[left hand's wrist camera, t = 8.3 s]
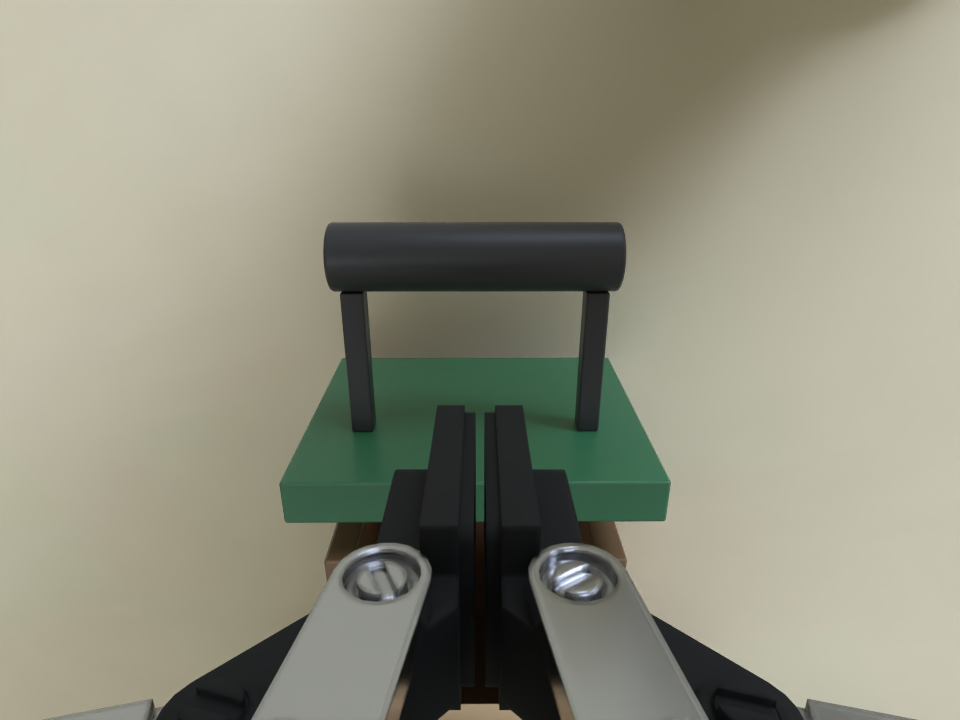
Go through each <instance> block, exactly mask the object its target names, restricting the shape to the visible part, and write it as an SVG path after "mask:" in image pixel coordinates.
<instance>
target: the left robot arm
mask: <svg viewBox="0 0 960 720" xmlns="http://www.w3.org/2000/svg"><path fill="white" fill-rule="evenodd" d="M475 587H476V412H465V405H437V410H436V417H435V424H434V430H433V437H432V444H431V450H430V457H429V463H428V469H396V470H395V472H394V475H393V479H392V483H391V487H390V491H389V495H388V499H387V503H386V507H385V511H384V515H383V519H382V523H381V528H380V532H379V536H378V540H377V544H373V545H368V546H365V547H363V548H360V549H358V550H355V551H353V552H352V553H350V554H349V555H347V556H346V557H345V558H343V559H342V560H341V561H340V562H339V564H338V565H337V566H336V567H335V569H334V571H333V572H332V574H331V576H330V578H329V580H328V581H327V583H326V585H325V587H324V589H323V590H322V592H321V594H320V596H319V598H318V599H317V601H316V603H315V605H314V607H313V609H312V610H311V612H310V614H308V615H306V616H305V617H303V618H301V619H300V620H298V621H296V622H294V623H293V624H291V625H289V626H288V627H286V628H284V629H282V630H281V631H279V632H277V633H276V634H274V635H272V636H270V637H269V638H267V639H265V640H264V641H262V642H260V643H258V644H257V645H255V646H253V647H252V648H250V649H248V650H246V651H245V652H243V653H241V654H240V655H238V656H236V657H234V658H233V659H231V660H229V661H228V662H226V663H224V664H223V665H221V666H219V667H217V668H216V669H214V670H212V671H211V672H209V673H207V674H205V675H204V676H202V677H200V678H199V679H197V680H195V681H193V682H192V683H190V684H189V685H188V686H186V687H185V688H183V689H182V690H181V691H179V692H178V693H176V694H175V695H174V696H173V697H172V698H171V699H170V701H169V702H168V703H167V704H166V705H165V706H164V707H160V708H155V707H154V703H153V699H149V700H144V701H139V702H134V703H128V704H123V705H118V706H113V707H107V708H102V709H97V710H92V711H86V712H81V713H76V714H71V715H66V716H60V717H55V718H50V719H45V720H438V719H439V718H441V717H442V716H443V715H444V714H445V713H447V712H448V711H449V710H461V687H474V686H475ZM484 587H485V686H486V687H499V710H511V711H512V712H513V713H515V714H516V715H517V716H518V717H519V718H521V719H522V720H915V719H910V718H905V717H900V716H894V715H889V714H884V713H879V712H874V711H868V710H863V709H858V708H853V707H847V706H842V705H837V704H832V703H826V702H821V701H816V700H811V699H807V703H806V707H805V708H800V707H796V706H795V705H794V704H793V703H792V702H791V701H790V699H789V698H788V697H787V696H786V695H785V694H784V693H782V692H781V691H779V690H778V689H777V688H775V687H774V686H772V685H771V684H770V683H768V682H767V681H765V680H763V679H761V678H760V677H758V676H756V675H755V674H753V673H751V672H749V671H748V670H746V669H744V668H743V667H741V666H739V665H737V664H736V663H734V662H732V661H731V660H729V659H727V658H726V657H724V656H722V655H720V654H719V653H717V652H715V651H714V650H712V649H710V648H708V647H707V646H705V645H703V644H702V643H700V642H698V641H696V640H695V639H693V638H691V637H690V636H688V635H686V634H684V633H683V632H681V631H679V630H678V629H676V628H674V627H672V626H671V625H669V624H667V623H666V622H664V621H662V620H660V619H659V618H657V617H655V616H654V615H652V614H650V612H649V610H648V609H647V607H646V605H645V603H644V601H643V599H642V598H641V596H640V594H639V592H638V590H637V589H636V587H635V585H634V583H633V581H632V580H631V578H630V576H629V574H628V572H627V571H626V569H625V567H624V566H623V565H622V564H621V562H620V561H619V560H618V559H617V558H615V557H614V556H613V555H611V554H610V553H608V552H607V551H605V550H602V549H600V548H597V547H595V546H592V545H587V544H583V540H582V536H581V532H580V528H579V523H578V519H577V515H576V511H575V507H574V503H573V499H572V495H571V491H570V487H569V483H568V479H567V475H566V472H565V470H564V469H532V463H531V457H530V450H529V444H528V437H527V430H526V424H525V417H524V410H523V405H495V412H484Z"/></svg>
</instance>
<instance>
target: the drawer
mask: <svg viewBox="0 0 960 720" xmlns="http://www.w3.org/2000/svg"><path fill="white" fill-rule="evenodd" d="M323 257H324V269H325V275H326V279H327V283H328V285H329V287H330V289H331V290H332V291H342V292H341V294H340V300H341V311H342V322H343V334H344V345H345V356H346V358H343V359H342V360H341V362H340V364H339V366H338V368H337V370H336V372H335V374H334V376H333V378H332V380H331V382H330V384H329V386H328V388H327V390H326V392H325V394H324V396H323V398H322V400H321V402H320V404H319V406H318V408H317V410H316V412H315V414H314V416H313V418H312V420H311V422H310V424H309V426H308V428H307V430H306V432H305V434H304V436H303V438H302V440H301V442H300V444H299V446H298V448H297V450H296V452H295V454H294V456H293V458H292V460H291V462H290V464H289V466H288V468H287V470H286V472H285V474H284V476H283V478H282V480H281V482H280V491H281V498H282V505H283V512H284V518H285V522H287V523H316V522H337V524H336V527H335V531H334V534H333V537H332V540H331V543H330V546H329V549H328V552H327V555H326V558H325V570H326V578H327V581H328V580H329V578H330V576H331V574H332V572H333V571H334V569H335V567H336V566H337V565H338V564H339V562H340V561H341V560H342V559H343V558H345V557H346V556H347V555H349V554H350V553H352V552H353V551H355V550H358V549H360V548H363V547H365V546H368V545H373V544H377V540H378V536H379V532H380V528H381V523H382V519H383V515H384V511H385V507H386V503H387V499H388V495H389V491H390V487H391V483H392V479H393V475H394V472H395V470H396V469H428V463H429V457H430V450H431V444H432V437H433V430H434V424H435V417H436V410H437V405H465V412H476V587H475V686H474V687H461V704H499V687H486V686H485V587H484V412H495V405H523V410H524V417H525V424H526V430H527V437H528V444H529V450H530V457H531V463H532V469H564V470H565V472H566V475H567V479H568V483H569V487H570V491H571V495H572V499H573V503H574V507H575V511H576V515H577V519H578V523H579V528H580V532H581V536H582V540H583V544H587V545H592V546H595V547H597V548H600V549H602V550H605V551H607V552H608V553H610V554H611V555H613V556H614V557H615V558H617V559H618V560H619V561H620V562H621V564H622V565H623V566H624V567H625V569H626V563H627V559H626V556H625V553H624V550H623V547H622V544H621V541H620V537H619V534H618V531H617V528H616V525H615V522H614V521H665V519H666V513H667V506H668V499H669V492H670V484H671V482H670V480H669V478H668V476H667V474H666V472H665V470H664V468H663V466H662V464H661V462H660V460H659V458H658V456H657V454H656V452H655V450H654V448H653V446H652V444H651V442H650V440H649V438H648V436H647V434H646V432H645V430H644V428H643V426H642V424H641V422H640V420H639V418H638V416H637V414H636V412H635V410H634V408H633V407H632V405H631V403H630V401H629V399H628V397H627V395H626V393H625V391H624V389H623V387H622V385H621V383H620V381H619V379H618V377H617V375H616V373H615V371H614V369H613V367H612V365H611V363H610V361H609V359H608V358H604V357H605V345H606V333H607V322H608V310H609V298H610V294H609V292H608V291H617V290H619V288H620V287H621V284H622V281H623V278H624V273H625V265H626V240H625V233H624V230H623V227H622V225H621V224H620V223H618V222H479V223H330V224H328V226H327V228H326V231H325V236H324V247H323ZM367 291H583V304H582V318H581V333H580V348H579V358H372V357H371V344H370V330H369V316H368V302H367Z"/></svg>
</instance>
